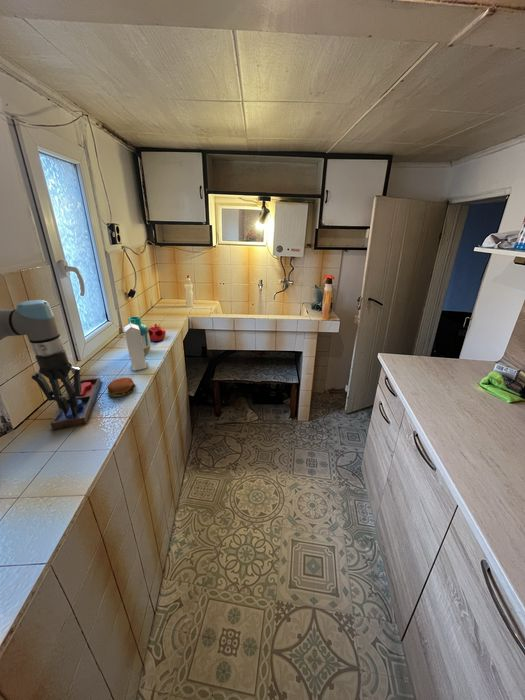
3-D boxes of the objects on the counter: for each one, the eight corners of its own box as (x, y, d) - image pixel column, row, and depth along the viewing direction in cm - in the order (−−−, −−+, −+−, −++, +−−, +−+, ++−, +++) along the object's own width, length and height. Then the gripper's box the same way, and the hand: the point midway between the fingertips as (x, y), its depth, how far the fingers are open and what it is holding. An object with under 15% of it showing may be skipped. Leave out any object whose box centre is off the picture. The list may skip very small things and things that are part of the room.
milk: (145, 363, 134) (137, 318, 125) (146, 368, 129) (138, 322, 120) (131, 365, 131) (122, 320, 122) (132, 371, 126) (123, 324, 117)
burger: (103, 395, 109) (100, 385, 107) (121, 383, 117) (118, 373, 115) (124, 400, 106) (121, 389, 104) (140, 387, 114) (138, 377, 112)
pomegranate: (151, 336, 165) (149, 321, 161) (168, 336, 165) (166, 321, 161) (145, 342, 156) (142, 326, 152) (163, 342, 156) (160, 326, 152)
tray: (52, 429, 91) (50, 423, 90) (75, 386, 115) (73, 381, 114) (86, 423, 94) (84, 417, 93) (101, 382, 117) (99, 377, 116)
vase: (126, 358, 138) (118, 321, 130) (133, 349, 148) (126, 314, 140) (149, 357, 139) (142, 320, 131) (154, 348, 148) (148, 314, 140)
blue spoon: (63, 421, 93) (61, 416, 92) (71, 404, 101) (70, 399, 100) (77, 418, 94) (75, 414, 93) (84, 402, 102) (82, 397, 101)
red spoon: (75, 399, 105) (73, 395, 104) (81, 386, 114) (80, 382, 113) (87, 398, 106) (85, 393, 105) (92, 384, 115) (91, 380, 114)
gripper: (15, 360, 80) (42, 425, 90) (74, 353, 84) (93, 416, 94) (26, 349, 86) (50, 412, 96) (80, 343, 91) (98, 404, 100)
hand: (71, 414), depth 95 cm, fingers closed on blue spoon, 1 cm apart
